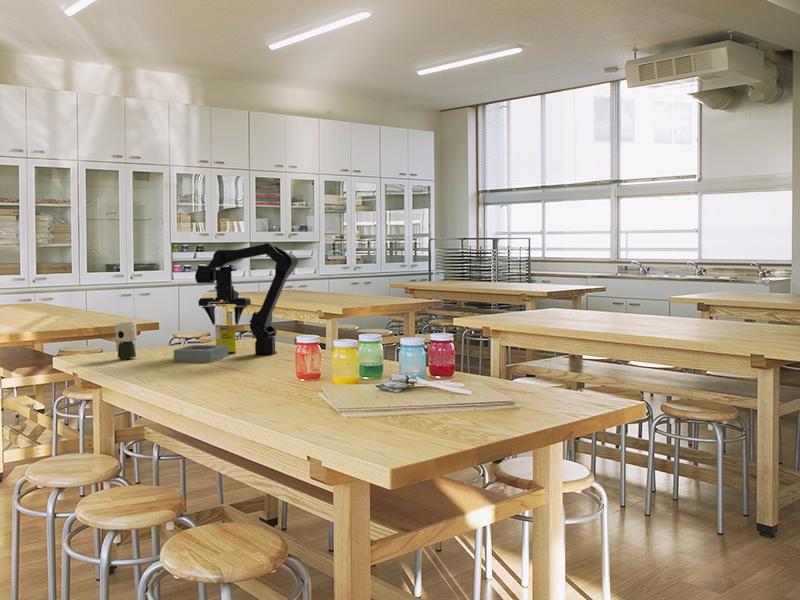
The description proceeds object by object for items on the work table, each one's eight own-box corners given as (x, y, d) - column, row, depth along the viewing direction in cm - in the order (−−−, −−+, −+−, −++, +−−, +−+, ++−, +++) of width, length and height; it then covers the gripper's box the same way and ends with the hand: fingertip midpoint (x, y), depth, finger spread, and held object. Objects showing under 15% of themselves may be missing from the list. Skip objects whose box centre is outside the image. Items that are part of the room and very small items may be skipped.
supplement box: (236, 353, 267) (235, 324, 267) (220, 355, 264) (219, 325, 264) (231, 351, 273) (230, 323, 272) (215, 353, 270) (215, 324, 269)
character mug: (110, 358, 257) (108, 323, 256) (128, 356, 263) (127, 321, 262) (125, 361, 250) (123, 325, 249) (143, 359, 255) (142, 323, 254)
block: (228, 356, 261) (227, 345, 261) (211, 362, 247) (210, 350, 247) (192, 355, 263) (192, 344, 263) (174, 361, 250) (173, 350, 249)
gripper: (255, 282, 273) (256, 322, 274) (210, 282, 276) (211, 322, 277) (244, 283, 262) (245, 325, 263) (197, 283, 265) (198, 325, 266)
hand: (225, 324), depth 268 cm, fingers open, 9 cm apart
